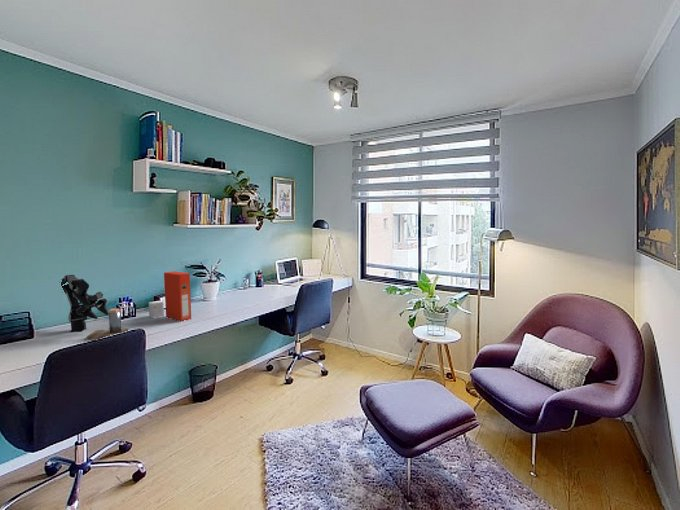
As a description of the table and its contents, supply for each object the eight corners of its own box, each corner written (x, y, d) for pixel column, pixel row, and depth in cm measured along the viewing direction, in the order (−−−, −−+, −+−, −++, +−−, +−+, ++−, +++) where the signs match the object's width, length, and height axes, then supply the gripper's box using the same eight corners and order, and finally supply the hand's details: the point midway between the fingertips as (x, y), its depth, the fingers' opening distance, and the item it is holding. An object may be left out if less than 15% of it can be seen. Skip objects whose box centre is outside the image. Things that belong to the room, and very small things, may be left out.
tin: (108, 333, 210) (106, 313, 209) (112, 330, 216) (111, 311, 215) (119, 333, 211) (118, 313, 210) (123, 330, 217) (122, 310, 216)
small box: (160, 314, 260) (160, 300, 259) (164, 316, 256) (163, 301, 255) (148, 317, 253) (148, 302, 252) (152, 318, 250) (151, 303, 249)
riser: (87, 339, 206) (86, 336, 205) (95, 333, 216) (95, 330, 216) (122, 337, 210) (121, 334, 209) (128, 331, 220) (128, 328, 220)
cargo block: (108, 313, 210) (108, 310, 210) (112, 311, 214) (112, 308, 214) (116, 312, 211) (115, 310, 211) (119, 311, 215) (119, 308, 215)
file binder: (180, 321, 242) (179, 274, 239) (165, 317, 252) (163, 272, 248) (191, 319, 249) (189, 273, 246) (176, 315, 258) (174, 271, 255)
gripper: (80, 291, 204) (100, 311, 204) (103, 285, 222) (121, 303, 223) (67, 305, 205) (87, 324, 206) (91, 297, 223) (109, 315, 224)
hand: (102, 316), depth 215 cm, fingers open, 9 cm apart
